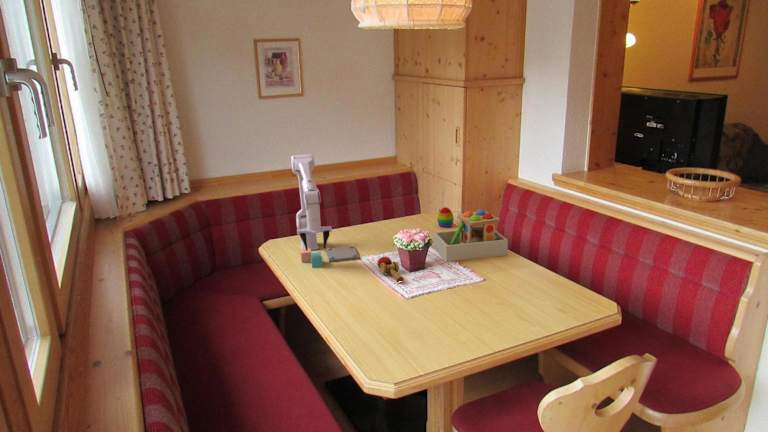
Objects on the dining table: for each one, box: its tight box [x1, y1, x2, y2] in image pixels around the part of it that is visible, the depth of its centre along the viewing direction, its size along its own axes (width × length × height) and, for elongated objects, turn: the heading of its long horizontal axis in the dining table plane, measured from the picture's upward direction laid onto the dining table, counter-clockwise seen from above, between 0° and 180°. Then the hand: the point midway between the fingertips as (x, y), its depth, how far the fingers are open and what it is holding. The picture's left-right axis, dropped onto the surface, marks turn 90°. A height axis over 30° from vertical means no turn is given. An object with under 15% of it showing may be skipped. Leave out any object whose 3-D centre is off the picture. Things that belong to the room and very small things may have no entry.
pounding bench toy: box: [450, 208, 501, 245], centre depth 243 cm, size 23×14×18 cm, turn 109°
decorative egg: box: [437, 207, 454, 229], centre depth 279 cm, size 8×8×10 cm
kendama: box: [377, 256, 405, 283], centre depth 222 cm, size 8×6×18 cm
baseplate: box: [325, 245, 360, 263], centre depth 246 cm, size 14×13×2 cm
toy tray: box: [433, 229, 509, 263], centre depth 245 cm, size 19×28×7 cm
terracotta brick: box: [299, 248, 312, 264], centre depth 241 cm, size 6×4×4 cm
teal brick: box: [310, 251, 323, 268], centre depth 236 cm, size 6×4×4 cm
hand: (315, 248), depth 234 cm, fingers open, 7 cm apart
